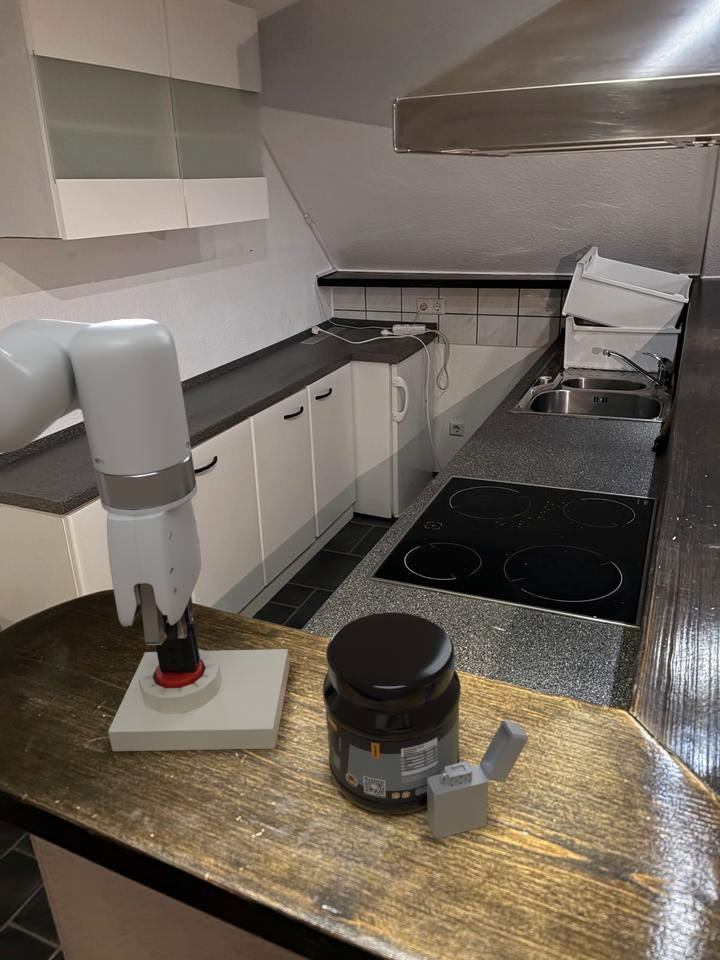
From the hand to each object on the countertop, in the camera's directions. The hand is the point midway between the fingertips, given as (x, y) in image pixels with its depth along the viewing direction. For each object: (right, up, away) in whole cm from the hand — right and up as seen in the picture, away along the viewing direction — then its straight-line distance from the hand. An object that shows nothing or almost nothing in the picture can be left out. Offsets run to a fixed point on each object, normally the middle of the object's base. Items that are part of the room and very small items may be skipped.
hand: (180, 666), depth 68 cm
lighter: (+25, -9, -11) cm, 28 cm away
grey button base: (+2, -4, +2) cm, 5 cm away
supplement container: (+19, -7, -6) cm, 21 cm away
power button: (0, -2, +1) cm, 2 cm away
